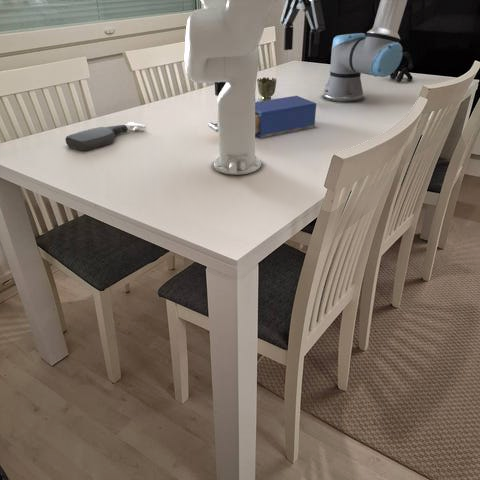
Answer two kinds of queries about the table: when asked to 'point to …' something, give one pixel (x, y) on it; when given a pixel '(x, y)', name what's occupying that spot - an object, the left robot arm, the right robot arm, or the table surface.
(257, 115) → the drawer
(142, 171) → the table surface
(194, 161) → the table surface
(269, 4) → the left robot arm
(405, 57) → the squiggle
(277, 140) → the table surface
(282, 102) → the blue box
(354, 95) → the right robot arm
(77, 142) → the spray bottle
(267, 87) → the cup
